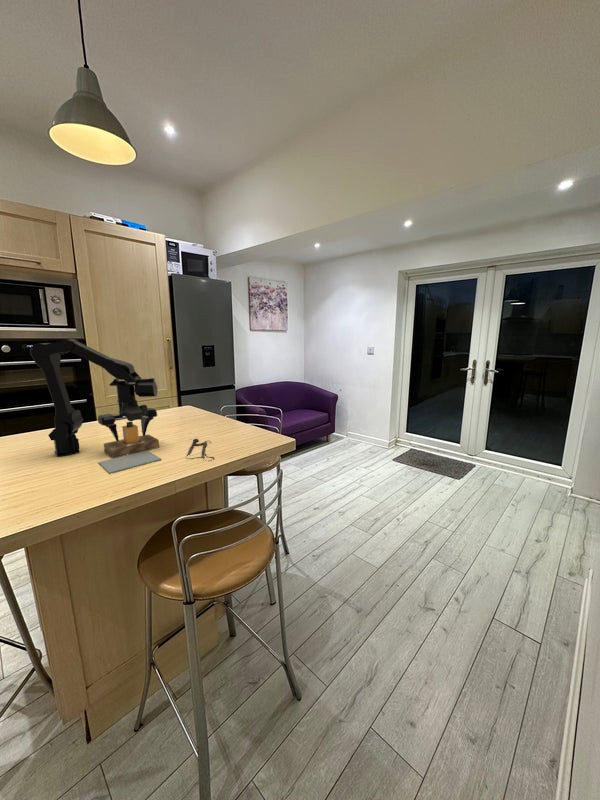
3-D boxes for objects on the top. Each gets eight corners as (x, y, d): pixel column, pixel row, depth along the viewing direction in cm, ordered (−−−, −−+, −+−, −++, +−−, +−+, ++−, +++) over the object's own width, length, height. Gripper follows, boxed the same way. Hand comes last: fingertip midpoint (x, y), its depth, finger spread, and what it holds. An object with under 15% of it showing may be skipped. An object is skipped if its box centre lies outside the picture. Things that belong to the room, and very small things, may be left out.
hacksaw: (193, 441, 131) (193, 438, 131) (219, 440, 133) (219, 436, 132) (182, 464, 108) (182, 459, 107) (214, 462, 109) (213, 457, 109)
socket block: (113, 458, 112) (112, 449, 111) (104, 451, 119) (103, 442, 118) (159, 447, 123) (158, 438, 123) (148, 441, 130) (148, 433, 130)
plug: (128, 451, 118) (125, 424, 116) (124, 449, 121) (121, 422, 119) (139, 449, 121) (137, 422, 119) (136, 446, 124) (133, 420, 122)
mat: (109, 474, 99) (109, 472, 99) (98, 463, 107) (98, 462, 107) (161, 460, 110) (161, 458, 110) (147, 451, 118) (147, 450, 118)
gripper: (104, 404, 105) (110, 449, 108) (161, 396, 118) (164, 437, 121) (95, 399, 113) (100, 442, 116) (149, 393, 126) (153, 431, 129)
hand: (131, 438), depth 120 cm, fingers open, 9 cm apart
